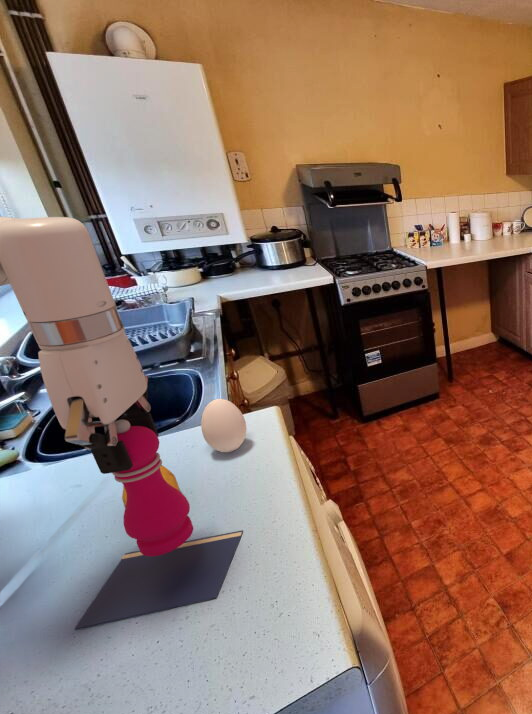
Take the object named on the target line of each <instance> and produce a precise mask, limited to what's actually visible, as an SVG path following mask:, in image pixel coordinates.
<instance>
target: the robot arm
mask: <svg viewBox="0 0 532 714" xmlns="http://www.w3.org/2000/svg"><path fill="white" fill-rule="evenodd" d="M7 285H10V286H11V290H12V291H13V293H14V296H15V298H16V300H17V302H18V304H19V306H20V309H21V311H22V312H23V315H24V317H25V320H26V321H27V324H28V326H29V328H30V331H31V333H32V335H33V337H34V340H35V341H36V343H37V345H38V348H39V351H38V352H37V355H38V363H39V367H40V373H41V377H42V381H43V384H44V387H45V391H46V393H47V396H48V398H49V401H50V404H51V406H52V410H53V412H54V413H55V416H56V419H57V420H58V423H59V425H60V426H61V428H62V429H63V430H65V433H64V440H65V442H67V443H71V444H75V445H77V446H80V447H83V448H84V449H85V450H87V451H90V452H91V454H92V456H93V459H94V460H95V463H96V465H97V467H98V469H99V472H100V473H101V474H103V475H106V474H112V473H114V472H120V471H126V470H130V469H131V468H132V467H133V464H132V461H131V459H130V457H129V454H128V452H127V449H126V447H125V445H124V442H123V441H118V437H117V429H116V421H117V419H118V418H119V417H120V416H121V417H120V420H127V421H128V422H129V423H130V426H143V427H147V428H149V429H151V430H152V431H153V432H154V433H155V434H156V435H157V437H158V438H159V435H160V434H159V432H158V430H157V427H156V424H155V422H154V418H153V417H152V414H151V409H152V408H151V404H150V403H149V401H148V396H149V391H148V384H149V383H148V382H149V377H148V375H146V374H145V373H144V369H143V367H142V365H141V362H140V359H139V358H138V355H137V354H136V351H135V349H134V347H133V345H132V343H131V341H130V339H129V337H128V336H127V334H126V328H125V326H124V323H123V320H122V318H121V315H120V312H119V310H118V307H117V304H116V302H115V300H114V297H113V294H112V292H111V289H110V286H109V284H108V281H107V278H106V275H105V273H104V270H103V267H102V264H101V262H100V259H99V256H98V254H97V251H96V249H95V246H94V243H93V240H92V238H91V235H90V233H89V230H88V229H87V227H86V225H85V224H84V223H83V222H81V221H80V220H78V219H76V218H74V217H68V216H43V217H41V216H40V217H28V218H27V217H26V218H16V217H11V216H0V287H3V286H7ZM93 418H98V419H99V420H95V421H93ZM100 427H103V428H104V434H103V433H99V432H96V429H95V428H100Z"/></svg>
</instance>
